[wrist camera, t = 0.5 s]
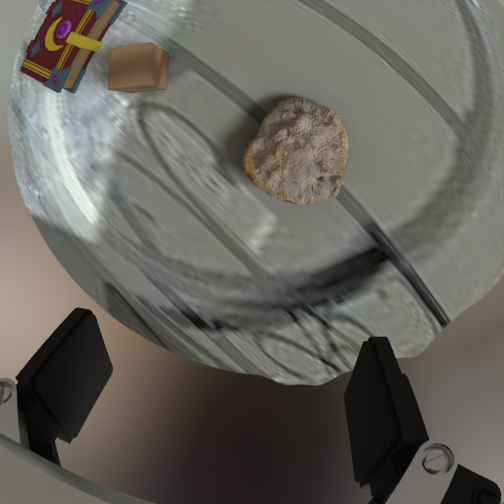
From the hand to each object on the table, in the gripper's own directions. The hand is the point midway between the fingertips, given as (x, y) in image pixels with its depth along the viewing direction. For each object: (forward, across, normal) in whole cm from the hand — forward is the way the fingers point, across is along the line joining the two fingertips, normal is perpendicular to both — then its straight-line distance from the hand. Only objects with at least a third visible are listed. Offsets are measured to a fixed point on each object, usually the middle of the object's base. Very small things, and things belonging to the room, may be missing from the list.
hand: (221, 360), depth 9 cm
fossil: (+28, -4, -5) cm, 29 cm away
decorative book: (+29, +28, -24) cm, 46 cm away
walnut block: (+28, +15, -15) cm, 35 cm away
